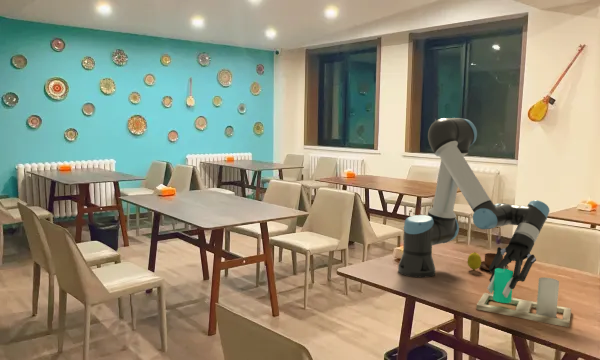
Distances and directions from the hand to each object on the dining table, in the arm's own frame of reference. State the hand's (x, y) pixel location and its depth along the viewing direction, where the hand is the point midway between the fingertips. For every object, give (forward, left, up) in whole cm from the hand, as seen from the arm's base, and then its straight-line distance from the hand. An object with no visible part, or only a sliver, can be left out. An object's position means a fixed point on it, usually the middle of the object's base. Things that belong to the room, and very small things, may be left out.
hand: (497, 293), depth 172 cm
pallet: (+8, +4, -6) cm, 11 cm away
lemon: (-16, +42, -6) cm, 45 cm away
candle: (+1, +4, -3) cm, 5 cm away
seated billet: (+15, +4, -6) cm, 17 cm away
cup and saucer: (-9, +48, -6) cm, 49 cm away
